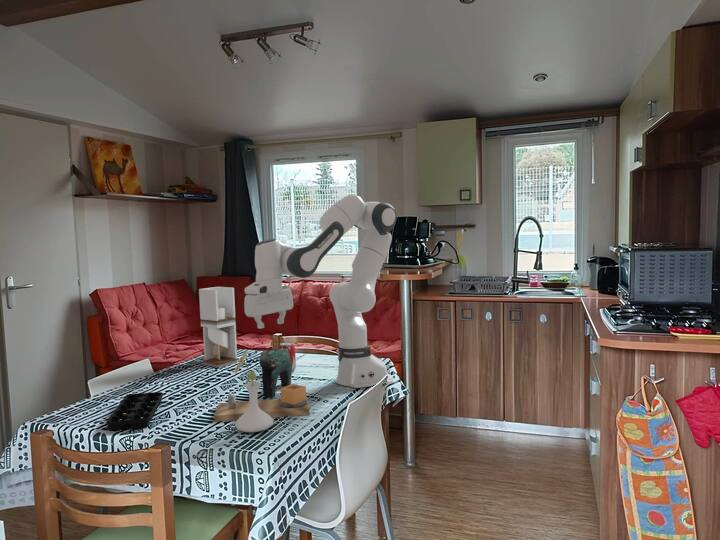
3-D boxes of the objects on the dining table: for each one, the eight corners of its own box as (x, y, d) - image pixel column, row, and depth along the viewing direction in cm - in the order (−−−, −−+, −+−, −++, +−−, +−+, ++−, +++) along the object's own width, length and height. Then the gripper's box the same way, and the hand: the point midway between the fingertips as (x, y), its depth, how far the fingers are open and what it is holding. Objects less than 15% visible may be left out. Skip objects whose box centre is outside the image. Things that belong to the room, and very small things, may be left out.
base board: (308, 402, 178) (307, 382, 177) (309, 414, 166) (308, 393, 165) (219, 409, 174) (218, 388, 173) (214, 421, 162) (213, 400, 161)
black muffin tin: (162, 399, 187) (162, 389, 187) (168, 426, 160) (168, 414, 160) (109, 407, 180) (108, 396, 180) (106, 436, 153) (105, 424, 153)
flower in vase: (247, 420, 162) (243, 342, 160) (280, 423, 159) (277, 343, 157) (225, 436, 150) (221, 352, 148) (260, 439, 146) (256, 353, 145)
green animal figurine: (272, 400, 182) (270, 344, 180) (256, 399, 184) (254, 343, 182) (295, 384, 201) (293, 333, 199) (280, 383, 202) (278, 333, 201)
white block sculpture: (202, 364, 236) (198, 289, 233) (220, 359, 244) (217, 286, 242) (219, 367, 229) (215, 290, 227) (237, 362, 238) (233, 287, 235)
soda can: (298, 371, 219) (297, 343, 219) (283, 374, 215) (282, 346, 215) (291, 368, 225) (290, 341, 224) (276, 370, 221) (275, 343, 220)
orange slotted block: (293, 396, 175) (293, 383, 175) (306, 399, 172) (305, 386, 171) (280, 401, 170) (280, 388, 170) (293, 404, 167) (293, 391, 166)
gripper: (283, 283, 187) (285, 320, 188) (240, 289, 170) (242, 330, 171) (296, 283, 183) (298, 321, 184) (253, 290, 167) (255, 331, 168)
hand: (271, 326), depth 178 cm, fingers open, 8 cm apart
